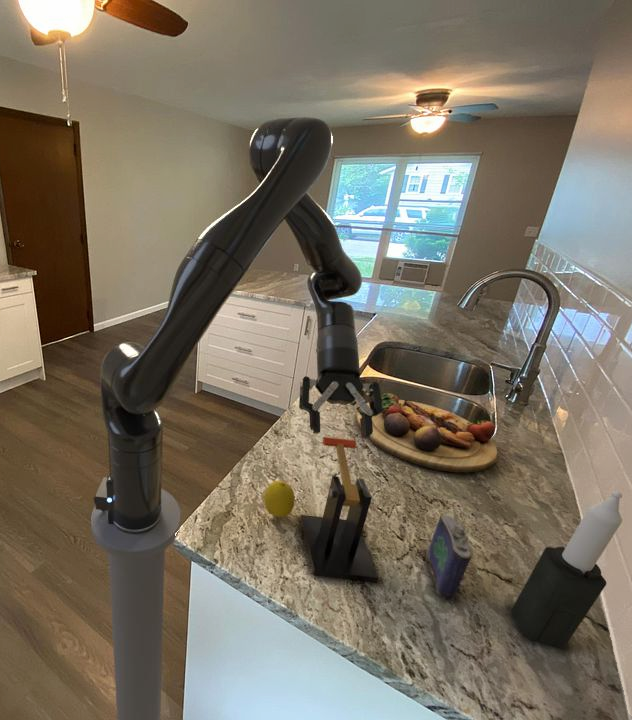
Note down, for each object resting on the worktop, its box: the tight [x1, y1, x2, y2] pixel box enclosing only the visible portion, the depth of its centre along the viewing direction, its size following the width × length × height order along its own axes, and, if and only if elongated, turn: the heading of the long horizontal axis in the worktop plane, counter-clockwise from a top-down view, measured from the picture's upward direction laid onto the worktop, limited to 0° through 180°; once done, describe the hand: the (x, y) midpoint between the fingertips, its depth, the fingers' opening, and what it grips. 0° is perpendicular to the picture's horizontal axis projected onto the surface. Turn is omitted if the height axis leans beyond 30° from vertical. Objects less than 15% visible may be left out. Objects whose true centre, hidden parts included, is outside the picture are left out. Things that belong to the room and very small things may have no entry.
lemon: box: [263, 480, 295, 518], centre depth 73 cm, size 6×6×8 cm
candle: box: [511, 491, 623, 649], centre depth 51 cm, size 5×5×25 cm
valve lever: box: [322, 436, 360, 507], centre depth 67 cm, size 12×5×2 cm, turn 173°
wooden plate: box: [355, 392, 499, 473], centre depth 101 cm, size 32×32×8 cm
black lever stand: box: [300, 475, 379, 584], centre depth 65 cm, size 12×10×14 cm
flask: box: [425, 514, 472, 601], centre depth 62 cm, size 9×3×11 cm, turn 162°
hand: (341, 435), depth 70 cm, fingers open, 8 cm apart
